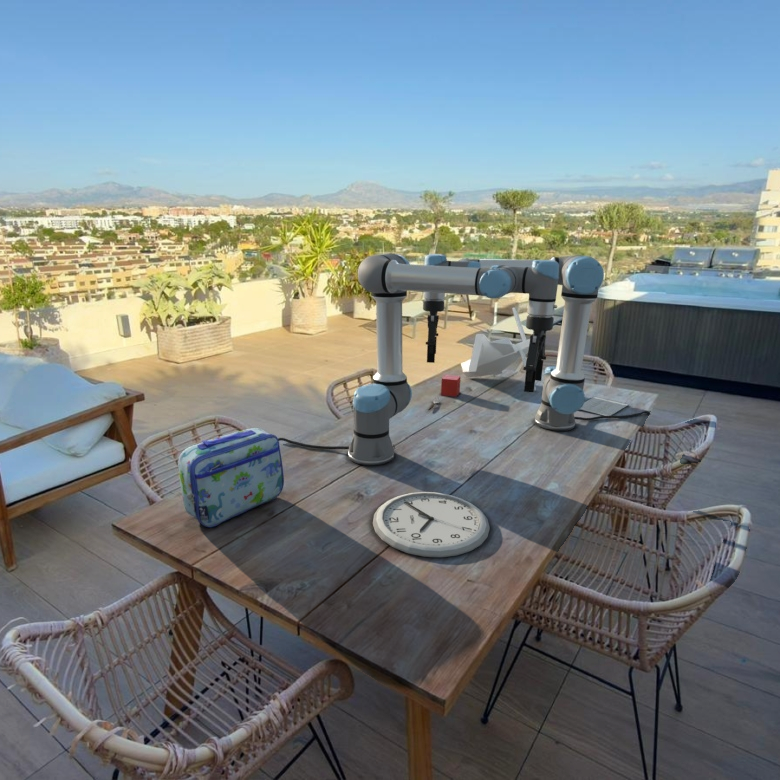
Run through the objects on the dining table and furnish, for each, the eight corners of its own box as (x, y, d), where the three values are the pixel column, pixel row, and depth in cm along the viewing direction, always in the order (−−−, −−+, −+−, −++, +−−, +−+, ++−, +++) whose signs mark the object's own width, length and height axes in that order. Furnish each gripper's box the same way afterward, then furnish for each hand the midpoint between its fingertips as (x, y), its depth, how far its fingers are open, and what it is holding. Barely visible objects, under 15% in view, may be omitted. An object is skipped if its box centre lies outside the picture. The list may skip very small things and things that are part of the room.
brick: (444, 390, 245) (445, 374, 242) (459, 392, 243) (460, 376, 240) (440, 395, 239) (441, 378, 236) (456, 396, 236) (457, 380, 234)
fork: (425, 410, 217) (425, 406, 216) (435, 399, 231) (435, 395, 231) (431, 411, 216) (431, 407, 215) (441, 400, 230) (441, 396, 230)
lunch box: (198, 536, 127) (190, 457, 121) (179, 518, 135) (170, 443, 128) (288, 499, 145) (285, 429, 139) (267, 486, 152) (263, 418, 146)
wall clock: (504, 548, 122) (376, 553, 119) (504, 554, 122) (376, 559, 120) (474, 487, 150) (370, 490, 148) (473, 492, 151) (370, 495, 148)
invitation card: (608, 416, 214) (573, 407, 224) (608, 416, 214) (573, 408, 224) (628, 404, 229) (594, 396, 238) (628, 405, 229) (594, 397, 238)
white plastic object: (482, 419, 265) (461, 396, 241) (463, 346, 287) (443, 319, 263) (553, 395, 253) (539, 368, 228) (528, 321, 275) (513, 290, 250)
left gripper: (547, 323, 138) (538, 399, 145) (559, 310, 160) (551, 377, 167) (519, 320, 141) (511, 395, 148) (534, 308, 163) (527, 374, 169)
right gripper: (425, 294, 197) (423, 349, 204) (421, 304, 174) (419, 365, 180) (445, 295, 196) (442, 350, 203) (443, 304, 173) (440, 366, 179)
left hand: (532, 385), depth 157 cm, fingers open, 13 cm apart
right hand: (431, 357), depth 191 cm, fingers open, 13 cm apart
